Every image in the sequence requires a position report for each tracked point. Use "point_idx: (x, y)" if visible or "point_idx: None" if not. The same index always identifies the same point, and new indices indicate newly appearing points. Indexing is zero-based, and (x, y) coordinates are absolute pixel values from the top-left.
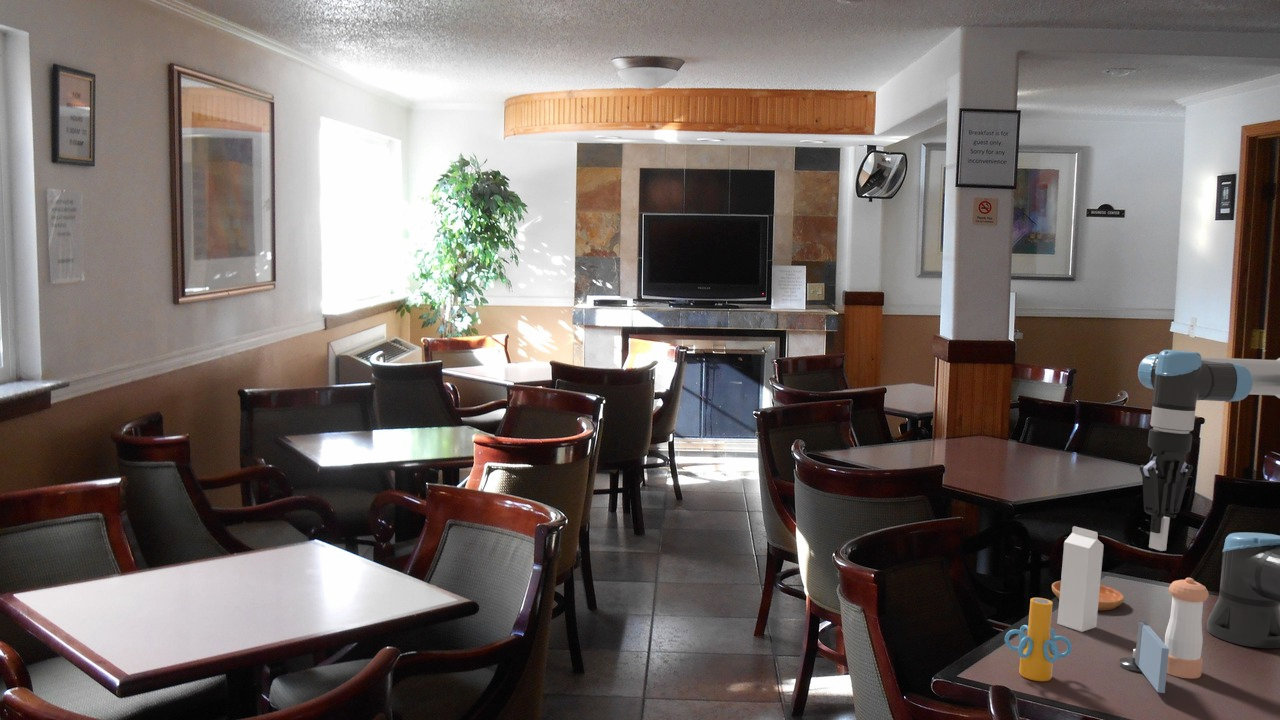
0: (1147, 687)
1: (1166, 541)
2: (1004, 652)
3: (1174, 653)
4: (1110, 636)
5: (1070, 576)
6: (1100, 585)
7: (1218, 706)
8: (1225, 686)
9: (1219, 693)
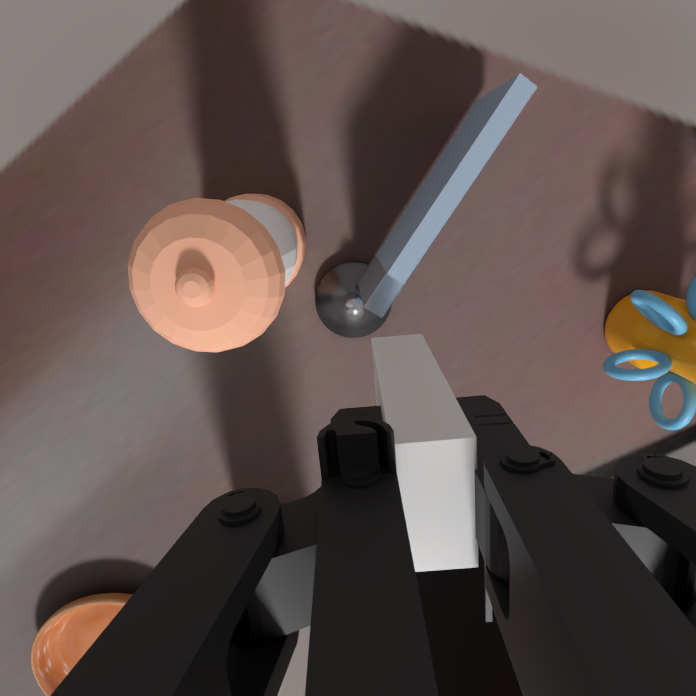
0: None
1: (382, 355)
2: (585, 451)
3: (295, 237)
4: (250, 465)
5: (305, 641)
6: (48, 690)
7: (357, 25)
8: (220, 126)
9: (278, 94)
